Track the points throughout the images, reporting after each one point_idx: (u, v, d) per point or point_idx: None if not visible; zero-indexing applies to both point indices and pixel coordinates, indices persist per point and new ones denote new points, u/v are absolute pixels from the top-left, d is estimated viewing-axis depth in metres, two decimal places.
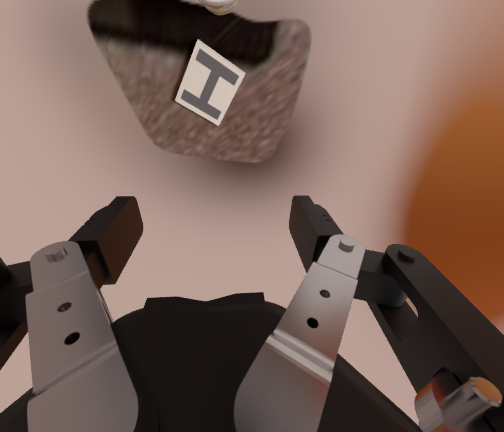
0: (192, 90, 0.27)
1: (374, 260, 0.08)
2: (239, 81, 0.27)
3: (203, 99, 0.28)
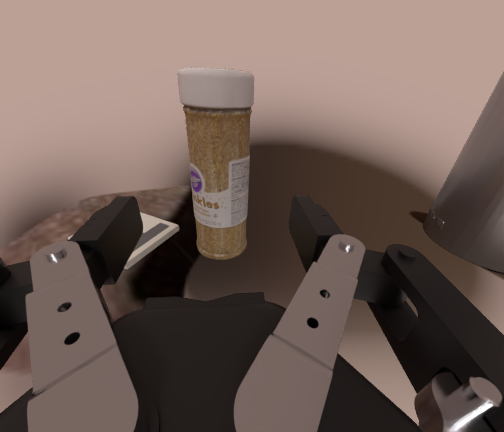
0: None
1: (374, 260, 0.08)
2: None
3: None
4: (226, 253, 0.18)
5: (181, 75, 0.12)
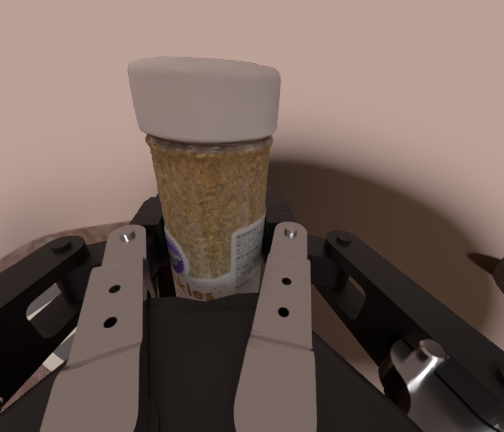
0: None
1: (317, 245, 0.09)
2: (53, 364, 0.11)
3: None
4: None
5: (131, 72, 0.06)
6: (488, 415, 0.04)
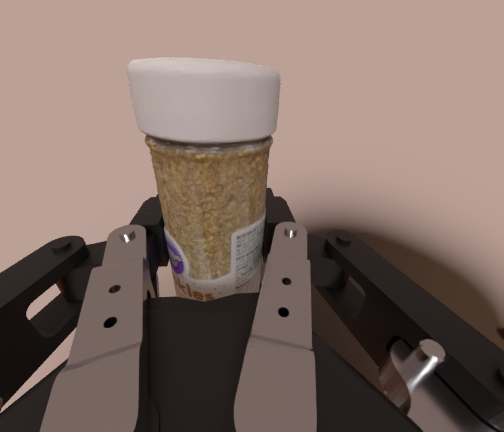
0: None
1: (317, 245, 0.09)
2: None
3: None
4: None
5: (130, 73, 0.06)
6: (488, 415, 0.04)
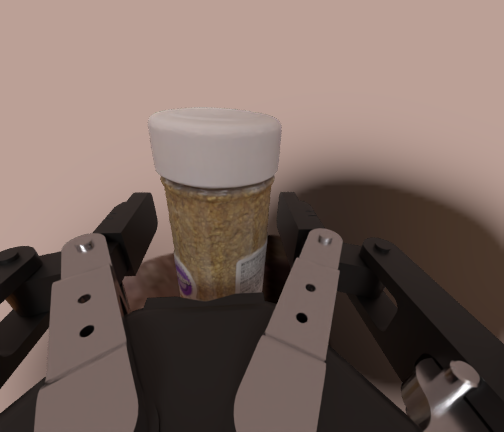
0: None
1: (352, 253, 0.08)
2: None
3: None
4: None
5: (153, 129, 0.07)
6: None
